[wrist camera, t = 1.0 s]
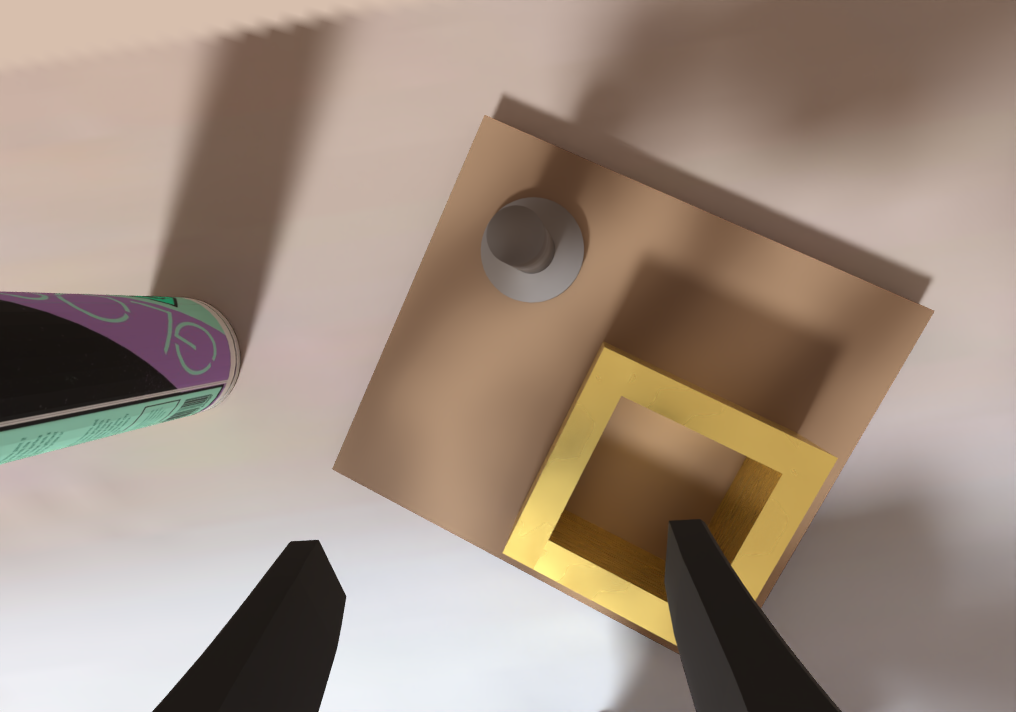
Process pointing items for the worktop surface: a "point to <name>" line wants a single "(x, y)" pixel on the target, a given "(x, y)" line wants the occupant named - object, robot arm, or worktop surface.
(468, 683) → the worktop surface
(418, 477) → the board
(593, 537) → the golden square frame
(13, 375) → the spray can
